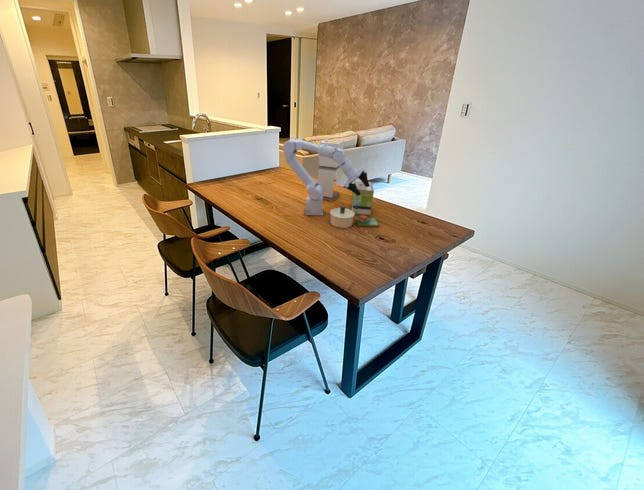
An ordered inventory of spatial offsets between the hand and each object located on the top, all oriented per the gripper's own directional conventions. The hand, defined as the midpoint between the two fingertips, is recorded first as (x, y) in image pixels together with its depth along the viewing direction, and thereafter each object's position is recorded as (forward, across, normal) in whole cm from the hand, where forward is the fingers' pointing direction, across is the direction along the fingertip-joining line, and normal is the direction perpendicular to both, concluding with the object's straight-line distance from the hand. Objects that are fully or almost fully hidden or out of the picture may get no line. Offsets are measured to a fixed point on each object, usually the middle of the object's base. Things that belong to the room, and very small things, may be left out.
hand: (363, 190), depth 153 cm
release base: (+15, -8, +3) cm, 17 cm away
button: (+12, -8, +3) cm, 15 cm away
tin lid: (+3, -15, +6) cm, 16 cm away
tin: (+7, -17, +8) cm, 20 cm away
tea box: (+12, +3, +17) cm, 21 cm away
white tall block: (-2, +4, +38) cm, 38 cm away
